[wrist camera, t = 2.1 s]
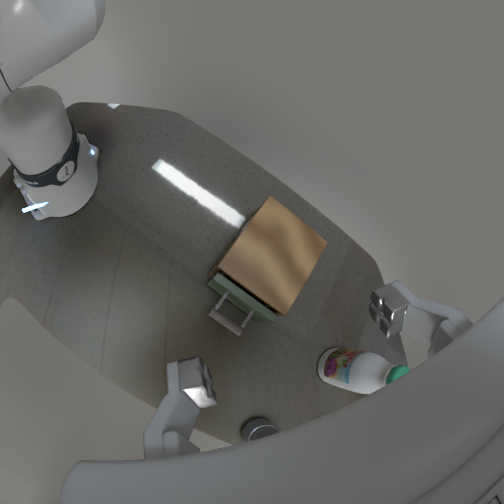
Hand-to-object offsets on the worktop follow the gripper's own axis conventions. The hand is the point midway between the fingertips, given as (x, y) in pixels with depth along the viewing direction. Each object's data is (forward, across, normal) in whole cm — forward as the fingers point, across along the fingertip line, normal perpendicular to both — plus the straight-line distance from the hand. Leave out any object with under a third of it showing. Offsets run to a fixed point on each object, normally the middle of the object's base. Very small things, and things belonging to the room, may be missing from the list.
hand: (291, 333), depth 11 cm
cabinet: (+34, -4, +20) cm, 40 cm away
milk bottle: (+20, -12, +41) cm, 47 cm away
